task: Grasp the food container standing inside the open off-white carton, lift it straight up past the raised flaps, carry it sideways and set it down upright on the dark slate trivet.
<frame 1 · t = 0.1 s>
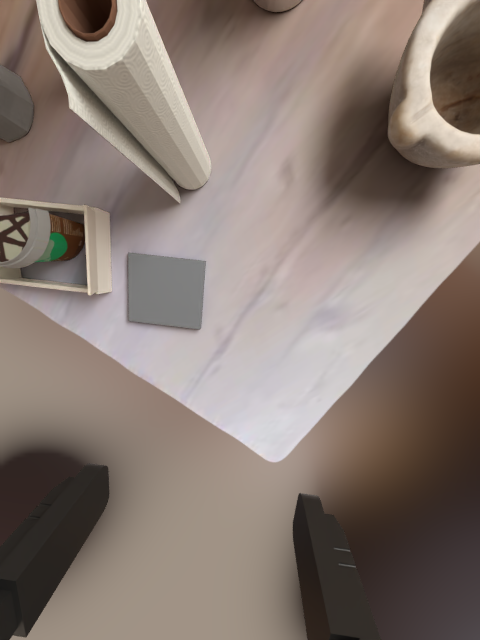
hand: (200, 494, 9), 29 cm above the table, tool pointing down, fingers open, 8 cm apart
carton: (62, 248, 37), on the table
food container: (63, 248, 37), resting in carton
mortar: (428, 119, 30), on the table
paper towel roll: (188, 170, 33), on the table
coffeepot: (13, 107, 33), on the table
trivet: (167, 291, 37), on the table
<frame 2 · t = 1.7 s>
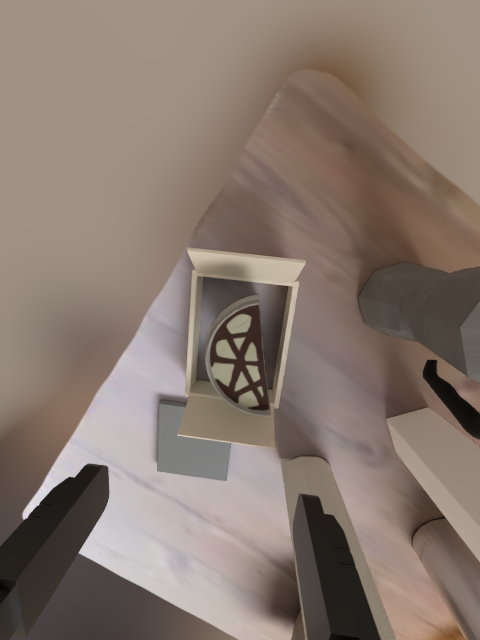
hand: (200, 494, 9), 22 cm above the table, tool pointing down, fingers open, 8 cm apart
carton: (239, 335, 31), on the table
food container: (239, 334, 31), resting in carton
milk: (410, 428, 33), on the table
mortar: (326, 614, 42), on the table
paper towel roll: (309, 467, 35), on the table
coffeepot: (391, 307, 29), on the table
trivet: (195, 438, 35), on the table
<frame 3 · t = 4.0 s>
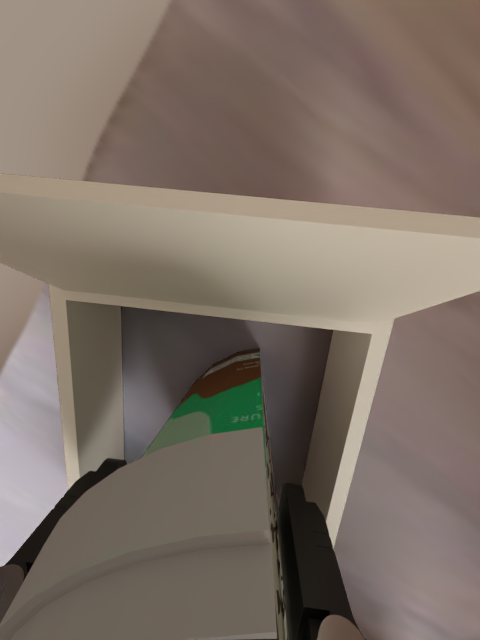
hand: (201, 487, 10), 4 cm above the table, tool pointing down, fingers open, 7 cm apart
carton: (215, 429, 13), on the table
food container: (216, 426, 13), resting in carton, touching gripper
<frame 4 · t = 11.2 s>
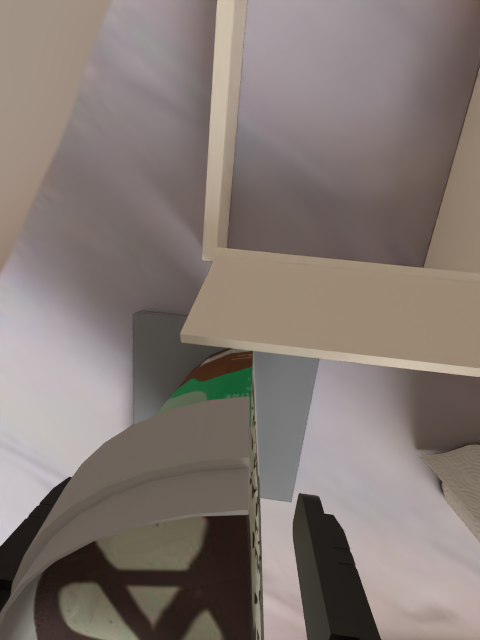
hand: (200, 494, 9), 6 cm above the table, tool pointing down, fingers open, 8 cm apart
carton: (351, 104, 11), on the table
food container: (208, 413, 15), point 1 cm above the table, touching trivet
paper towel roll: (479, 469, 15), on the table
trivet: (220, 406, 15), on the table
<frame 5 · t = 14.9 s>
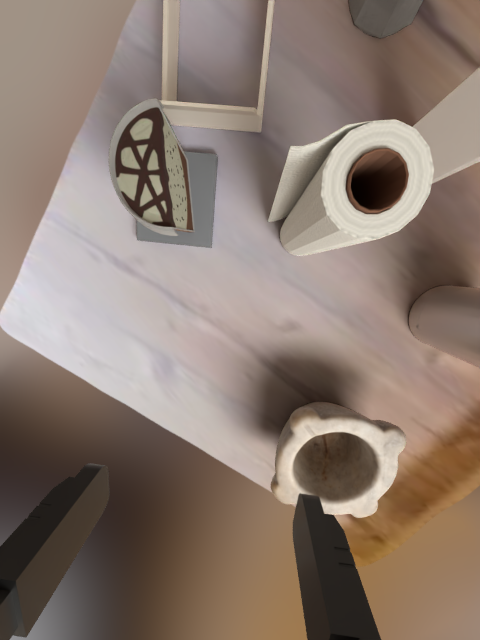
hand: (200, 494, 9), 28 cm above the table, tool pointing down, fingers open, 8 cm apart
carton: (220, 54, 29), on the table
food container: (170, 199, 32), point 1 cm above the table, touching trivet
milk: (405, 170, 31), on the table
mortar: (318, 426, 40), on the table
paper towel roll: (298, 231, 33), on the table
coffeepot: (383, 5, 27), on the table
trivet: (177, 201, 33), on the table
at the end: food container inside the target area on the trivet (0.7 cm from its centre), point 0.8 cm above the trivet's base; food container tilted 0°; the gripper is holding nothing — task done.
